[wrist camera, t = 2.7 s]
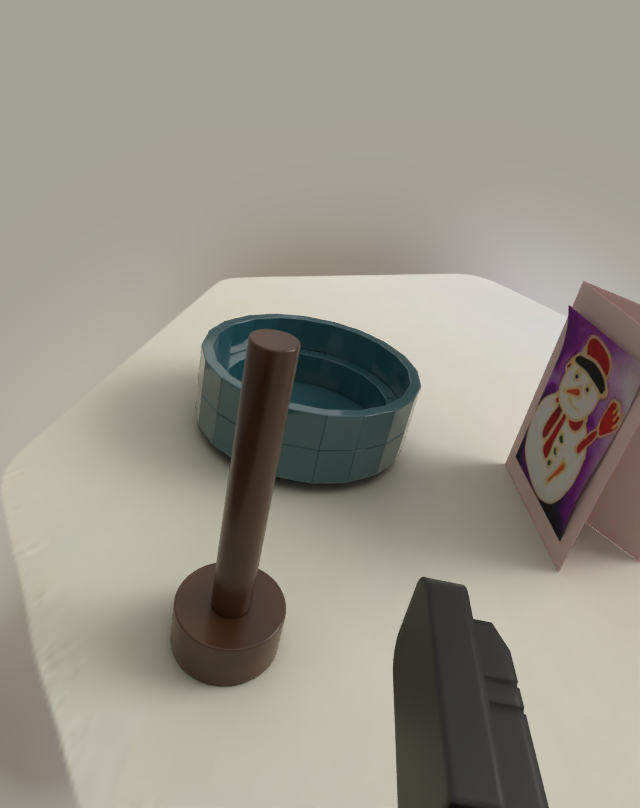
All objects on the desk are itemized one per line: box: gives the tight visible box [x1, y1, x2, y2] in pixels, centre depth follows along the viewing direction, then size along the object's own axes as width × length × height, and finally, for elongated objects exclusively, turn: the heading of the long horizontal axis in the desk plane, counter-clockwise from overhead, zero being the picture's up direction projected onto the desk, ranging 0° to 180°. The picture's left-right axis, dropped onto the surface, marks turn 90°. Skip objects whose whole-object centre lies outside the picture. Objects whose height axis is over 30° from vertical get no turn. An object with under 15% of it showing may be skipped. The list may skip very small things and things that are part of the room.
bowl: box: [195, 314, 421, 484], centre depth 43 cm, size 16×16×6 cm
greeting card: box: [505, 281, 640, 572], centre depth 37 cm, size 11×7×15 cm, turn 1°
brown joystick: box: [171, 329, 301, 686], centre depth 24 cm, size 5×5×15 cm
